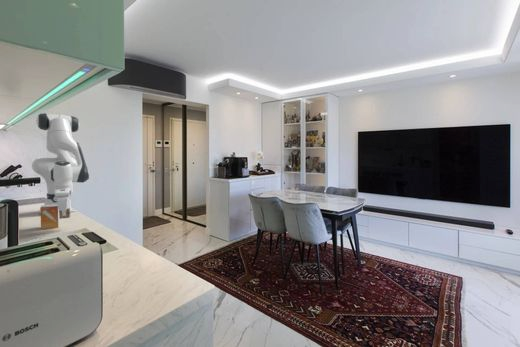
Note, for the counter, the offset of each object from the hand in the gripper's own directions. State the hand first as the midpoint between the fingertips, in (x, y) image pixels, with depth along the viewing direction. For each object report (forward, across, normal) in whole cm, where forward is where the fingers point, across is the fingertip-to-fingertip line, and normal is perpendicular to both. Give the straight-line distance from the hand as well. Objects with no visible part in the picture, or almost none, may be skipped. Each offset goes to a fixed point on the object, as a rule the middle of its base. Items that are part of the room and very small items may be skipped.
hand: (64, 214), depth 149 cm
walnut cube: (+2, 0, 0) cm, 2 cm away
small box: (+10, -10, -8) cm, 16 cm away
